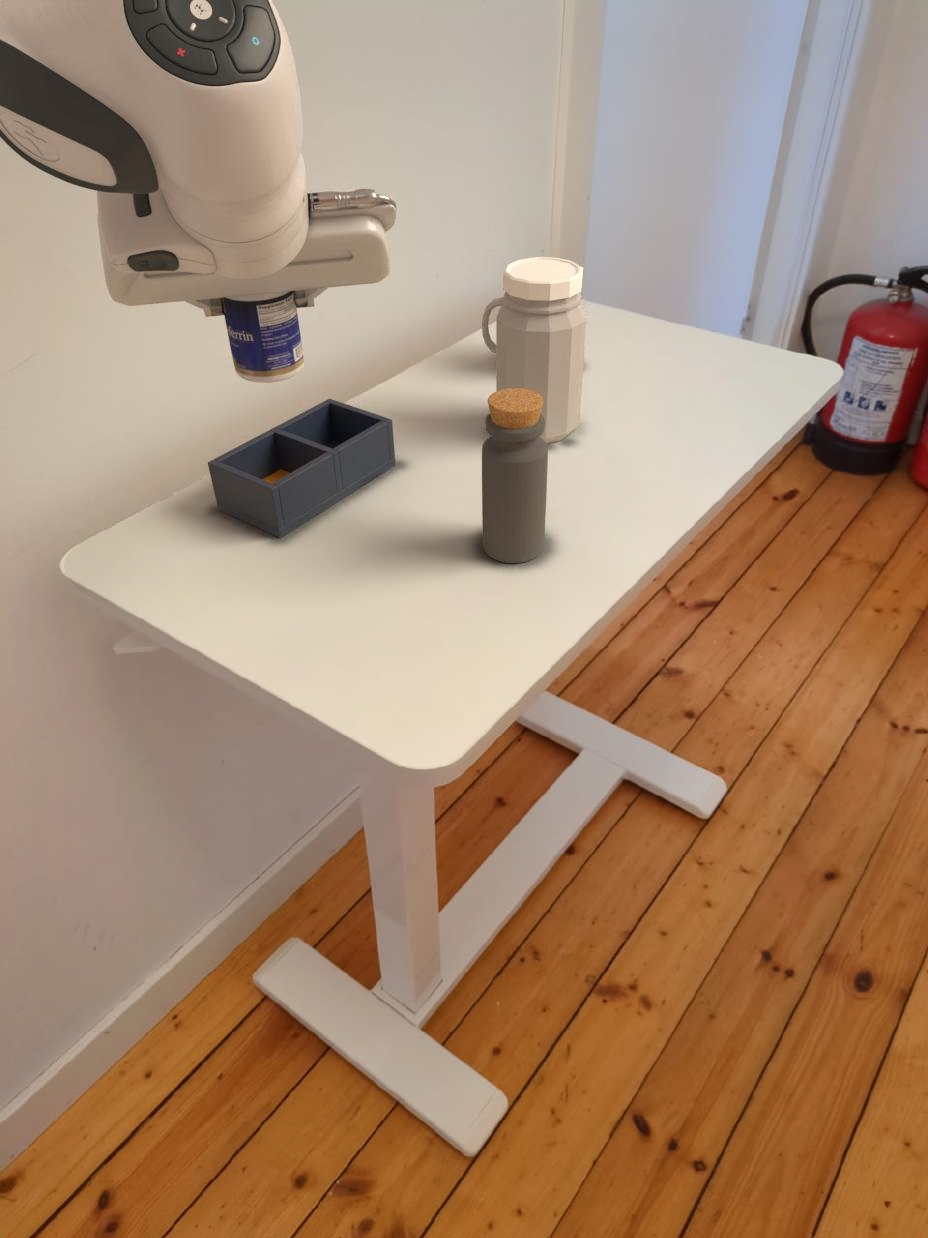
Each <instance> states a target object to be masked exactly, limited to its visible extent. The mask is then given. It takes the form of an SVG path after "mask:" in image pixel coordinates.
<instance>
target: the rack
mask: <svg viewBox="0 0 928 1238" xmlns="http://www.w3.org/2000/svg"><path fill="white" fill-rule="evenodd" d="M393 425H394V424H393V419H392V418H389V417H386V416H383V415H379V414H377V413H374V412H371V411H368V410H365V409H362V408H359V407H356V406H353V405H350V404H347V403H345V402H341V401H338V400H335V399H332V398H327V399H326V400H324V401H322V402H319V403H318V404H316V405H314V406H312V407H310V408H309V409H306V410H305V411H303V412H301V413H299V414H297V415H295V416H293V417H292V418H290V419H288V420H286V421H284V422H282V423H279V424H278V425H277V426H274V427H272V428H270V429H269V430H266V431H265V432H263V433H261V434H259V435H257V436H255V437H254V438H251V439H250V440H248V441H245V442H244V443H241V444H240V445H238V446H236V447H234V448H232V449H231V450H229V451H227V452H225V453H223V454H221V455H219V456H217V457H215V458H214V459H211V460H210V461H207V467H208V472H209V475H210V480H211V484H212V489H213V493H214V498H215V502H216V507H217V510H218V511H219V512H222V513H224V514H226V515H229V516H231V517H233V518H235V519H238V520H239V521H242V522H244V523H247V524H248V525H251V526H253V527H255V528H257V529H259V530H262V531H264V532H266V533H268V534H270V535H273V536H275V537H277V538H279V539H282V538H283V537H285V536H286V535H288V534H289V533H291V532H293V531H294V530H296V529H298V528H299V527H301V526H302V525H304V524H305V523H307V522H308V521H310V520H312V519H313V518H315V517H317V516H318V515H320V514H321V513H323V512H324V511H326V510H328V509H329V508H330V507H333V506H334V505H336V504H337V503H339V502H340V501H342V500H343V499H345V498H347V497H348V496H350V495H351V494H353V493H355V492H356V491H358V490H360V489H361V488H362V487H364V486H366V485H367V484H369V483H370V482H372V481H374V480H375V479H377V478H378V477H380V476H381V475H383V474H385V473H386V472H388V471H389V470H391V469H393V468H394V467H396V465H397V464H396V453H395V452H396V451H395V440H394V439H395V438H394V427H393Z"/></svg>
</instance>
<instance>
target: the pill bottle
mask: <svg viewBox="0 0 928 1238" xmlns="http://www.w3.org/2000/svg"><path fill="white" fill-rule="evenodd" d="M221 301H222V306H223V311H224V315H223V316H224V321H225V326H226V327H225V328H226V331H227V337H228V342H229V347H230V352H231V358H232V363H233V367H234V371H235V373H236V374H237V376H238V377H239V378H241V379H243V380H245V381H247V382H251V383H257V384H258V383H259V384H260V383H261V384H270V383H279V382H283V381H286V380H288V379H291V378H293V377H296V376H297V375H298V374H300V373H301V372H302V370H303V368H304V365H305V357H304V349H303V342H302V341H303V340H302V335H301V330H300V322H299V315H298V308H296V302H295V295H294V291H286V292H276V293H265V294H254V295H243V296H233V297H222V298H221Z"/></svg>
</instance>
